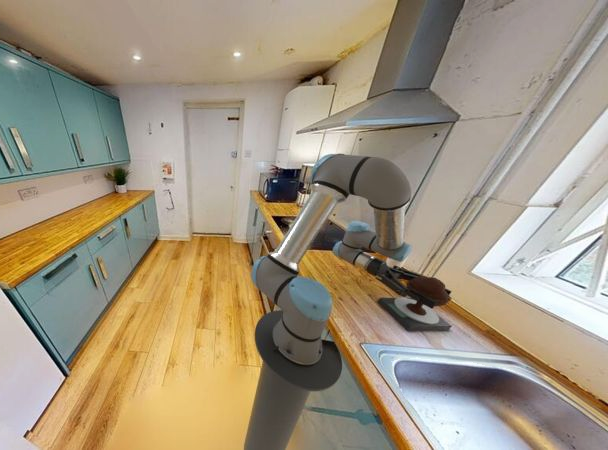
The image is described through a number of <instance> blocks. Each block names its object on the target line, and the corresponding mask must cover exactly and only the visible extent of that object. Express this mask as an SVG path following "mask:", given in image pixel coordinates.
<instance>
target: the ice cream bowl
mask: <svg viewBox="0 0 608 450" xmlns="http://www.w3.org/2000/svg"><path fill="white" fill-rule="evenodd" d="M425 276H426V275H424V276H419V277H416V278H414V279H412V280H410V281H407V282H406V285H405V286H406V287H407V288H408V289H409V291H410V290H411V289H412V290H414V291H416V292H418V293H420V294H422V295H424V296H426V297H428V298H430V299H432V300H434V301H436V302H437V303H436V304H435V306H434V307H442V306H444V305H446V304H447V303H449V302H450V301H451V300H452V297H451V295H448V293H447V292H446V291H445V288H446V284H445V283H444V282H443V281H442V280H440V279H438V278H437V277H434V276H433V277H431V276H426V277H425ZM416 301H417V300H416ZM406 306H407V308H408V309H409V310H410V311H412V312H413V313H416V314H418V315H423V316H425V315H426V314H427V313H426V311H425V309H423V308H422V306H423V304H422V303H420V302H418V301H417V302H416V304H413V303H409V304H407V305H406Z"/></svg>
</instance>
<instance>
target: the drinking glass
mask: <svg viewBox="0 0 608 450" xmlns="http://www.w3.org/2000/svg"><path fill="white" fill-rule="evenodd" d="M411 253H412V251H411V252H410V254H409V256H410V255H411ZM409 256H408V257H407V258H406V259H405V260H404V261H402V262H399V261H396V260H394V259H390V258H388V257H386V260H385V262H386V263H387V266H389V267H392V268H393V267H394V265H396V266H398V267H400V268H403V266H404V264H405V263H406V261H407V260H408V258H409Z"/></svg>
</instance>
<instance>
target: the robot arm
mask: <svg viewBox="0 0 608 450" xmlns="http://www.w3.org/2000/svg"><path fill="white" fill-rule="evenodd" d="M309 182H310V186H309V188H310V190H311V193H310V195H309V196H308V198H307V199H306V201H305V202H304V204H303V206H302V207H301V208H300V210H299V212H298V213H297V215H296V217H295V218H294V221H293V222H292V224H291V225H290V227H289V228H288V230H287V232H286V233H285V235H284V237H283V238H282V240H281V242H280V243H279V245H278V246H277V248H276V249H275V250H274V251H271V252H268V253H267V255H263V256H260V257H259V258H257V260H255V262H254V263H253V265H252V267H251V271H250V278H251V282H252V284H253V285H254V286H255V287H256V288H257V289H258V291H259V292H261V293H262V294H263V295H264V296H265V297H266V298H268V300H270V301H271V302H272V303H273V304H274V305H276V306H277V307H278V308H279V310H282V311H283V316H282V318H281V319H280V321H278V322H277V323H276V325H275V326H274V328H273V332H272V341H273V344H274V346H275V348H274V349H273V351H274V352H275V351H276V350H277V351H278V352H279V353H280V354H281V355H282V356H283V357H284V358H285V359H286V360H288V361H289V362H291V363H293V364H295V365H298V366H303V367H310V366H313V365H315V364H317V363H318V362H319V360H320V358H321V355H322V340H323V339H322V335H323V332H324V330H325V327H326V325H327V323H328V320H329V319H330V316H331V313H332V308H333V303H334V301H333V298H332V294H331V293H330V291H329V289H328V288H326V287H325V286H324V285H323V284H322V283H321V282H319V281H318V280H316V279H314V278H311V277H310V278H309V277H307V276H302V275H301V276H299V273H300V272H301V269H300V267H299V265H300V263H301V261H302V260H303V258H304V256H305V255H306V254H307V252H308V251H309V249H310V247H311V246H312V244H313V242H314V241H315V239H316V238H317V236H318V235H319V233H320V232H321V230H322V228H323V227H324V225H325V224H326V222H327V221H328V219H329V217H330V216H331V215H332V213H333V211H334V210H335V208H336V206H337V205H338V204H340V203H344V202H346V201H347V199H348V197H349V196H350V195H351V196H355V197H361V198H364V199H365V200H367V203H368V205H369V207H371V208H372V212H373V213H372V214H373V220H374V229H375V230H374V231H373V230H371V226H370V224H368V223H366V222H364V221H359V220H353V221H350V222H349V224H348V226H347V228H346V229H345V233H344V235H343V238H342V240H340V241H337V242H336V243H335V244H334V246H333V247H332V253H333V255H334V256H336V257H337V258H339V259H340V260H342V261H345V262H347V263H349V264H350V265H352V266H354V267H356V268H358V269H359V270H362V271H363V272H366V273H367V274H369V275H371V276H372V277H374V279H375V280H376V281H378V282H380V283H382V284H383V285H385V286H386V287H387V288H389V289H390V290H391V291H393V292H394V293H395V294H396V295H398V296H399V297H402V298H407V297H408V298H413V299H415V300H417V301H418V302H420V303H422V304H424V305H425V306H427V307H428V308H430V309H431V310H433V309H434V308H435V307H436V306H435V304H436V303H437V302H436V301H434V300H432V299H430V298H428V297H426V296H424V295H422V294H420V293H418V292H416V291H414V290H412V289H411V290H410V291H409V289H408V288H407V286H406V285H405V284H404V283H403V282H402V281H401V280H404V281H407V282H408V281H410V280H412V279H414V278H416V277H419V276H425V277H427V276H426V275H424V274H420V273H418V272H415V271H411V270H410V269H409V270H408V269H406V268H403V267H401V268H400V267H398V266H396V265H394V267H393V268H392V267H389V266H387V263H386V260H383V259H381V258H379V257H376V256H375V255H373V254H370V253H368V252H367V251H363V250H362V248H365V249H367V250H370V251H372V252H374V253H377V254H379V255H381V256H384V257H386V258H387V257H388V258H390V259H394V260H396V261H399V262H402V261H404V260H405V259H406V258H407V257H408V256H410V255H411V253H412V251H413V246H412V245H411V244H409V243H407V242H405V241H404V233H405V232H404V230H405V216H406V206H407V205H408V204H409V203H410V201H411V198H412V188H411V184H410V182H409V179H408V178H407V176H406V175H405V172H403V171H402V169H400V167H398V165H396V164H395V163H394V162H392V161H390V160H388V159H386V158H383V157H379V156H367V155H354V154H345V153H328V154H325V155H323V156H322V157H320V158H319V159H318V160H317V161H316V163H315V164H314V165H313V166H312V169H311V171H310V175H309ZM410 252H411V253H410ZM409 254H410V255H409ZM408 258H409V257H408ZM408 258H407V259H408ZM445 291H446V292H447V293H448V295H449V296H451V293H452V292H453V291H452V290H450V289H448V288H446V287H445Z"/></svg>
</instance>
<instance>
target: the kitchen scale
mask: <svg viewBox="0 0 608 450" xmlns="http://www.w3.org/2000/svg"><path fill="white" fill-rule="evenodd" d="M416 302H417V301H416V300H415V299H413V298H411V297H379V298H378V300H377V304H379V305H380V307H382V308H383V309H384V310H385V311H386V312H387V313H388V314H389V315H390V316H392V318H394V320H395V321H396V322H398V324H400V326H401V327H403V328H404V329H405V330H406V331H407V332H415V331H416V332H417V331H419V332H425V331H426V332H427V331H428V332H429V331H433V332H435V331H449V330H450V329H451V328H452V325H451V324H450V323H449V322H448V321H446V319H444V318H442V317H441V316H440V315H439V314H437V313H436V312H435V311H434V310H433V309H431V308H430V307H428V306H426V305H424V304H423V306H422V308H423V309H425V311H426V313H427V314H426V315H425V316H423V315H418V314H416V313H413V312H412V311H410V310H409V309H408V308H407V306H406V305H407V304H409V303H413V304H416Z"/></svg>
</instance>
